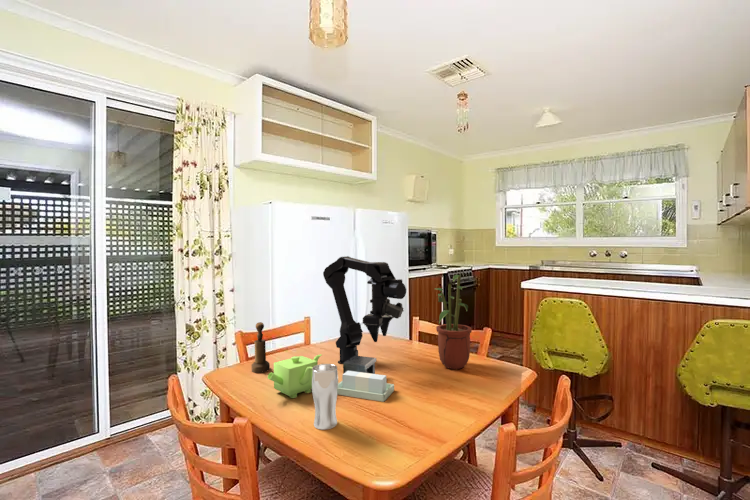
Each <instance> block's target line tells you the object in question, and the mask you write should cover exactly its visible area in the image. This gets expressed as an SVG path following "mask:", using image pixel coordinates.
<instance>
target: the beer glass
mask: <svg viewBox="0 0 750 500" xmlns="http://www.w3.org/2000/svg"><path fill="white" fill-rule="evenodd" d="M338 383H339V373H338V366H337V365H336V364H333V363H321V364H318V365H316V366H314V367H313V368H312V389H311V391H312V392H311V393H312V400H313V405H314V420H313V426H314V428H315V429H317V430H321V431H324V430H325V431H326V430H327V431H328V430H331V429H333V428H335V427H336V426H337V425H338V419H337V414H336V409H337V408H336V406H337V400H338V395H337V394H338Z"/></svg>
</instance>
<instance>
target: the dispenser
mask: <svg viewBox="0 0 750 500" xmlns="http://www.w3.org/2000/svg"><path fill="white" fill-rule="evenodd" d="M376 362H377V357H372V356H364V355H363V356H362V355H358V356H353V357H351V358H350V359H348V360H347V361H345V362H344V363H342V370H343V371H342V375H343V374H344V373H345V372H347V371H355V372H363V373H371V374H376Z"/></svg>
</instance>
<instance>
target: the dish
mask: <svg viewBox="0 0 750 500" xmlns="http://www.w3.org/2000/svg"><path fill="white" fill-rule="evenodd" d="M394 391H395V384H394V383H388V382H387V391H386V392H385V393H384V394H378V393H371V392H364V391H357V390H351V389H344V388H343V383H342V380H341V381H340V382H338V394H337V396H338V395H339V396H346V397H351V398H358V399H365V400H369V401H376V402H382V403H383V402H386V401H387V399H388V398H389V397H391V395H392V393H394Z"/></svg>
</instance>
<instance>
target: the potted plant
mask: <svg viewBox="0 0 750 500" xmlns="http://www.w3.org/2000/svg"><path fill="white" fill-rule="evenodd" d="M455 280H456V281H457V283H456V297H455V296H452V284H451V283H448V284H447V285H448V287H447V290H448V292H447V295H448V297H447V298H448V301H446V298H445V294H444V292H443V291H444V289H443V288H440V287H437V288H434V290H437V291H440V293H438V294H437V296H438V297H437V299H438V301H437V302H438V303H442V304H443V307H444V308H443V309H444V310H443V311H441V312H440V313H439V320H438V325H436V329H435V330H436V332H437V342H438V343H437V346H438V347H437V349H438V356H439V360H440V362H441V363H442V366H444V367H446V368H447V369H449V370H460V369H462V368H464V367H465V366H467V364H468V362H469V360H470V356H471V355H470V353H471V333H472V330H473V329H472V327H471V326H468V325H466V324H459V318H460V317H459V316H460V309H461V307H464V308H465V310H466V311H465V312H468V309H469V306H468V304H466V303H465V302H464V303H463V302H462V301H463V300H462V299H461V298H460V290H461V291H463V286H461V275H459V274H455V275H453V277H452V282H455ZM465 288H467V287H466V286H465ZM455 298H456V299H455ZM454 299H455V301H456V302H455V309H454V314H452V300H454ZM447 304H448V306H447ZM452 317H453V323H452ZM444 318H445V322H446V324H445V323H444V324H440V323H441V321H442V320H443V319H444Z"/></svg>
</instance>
